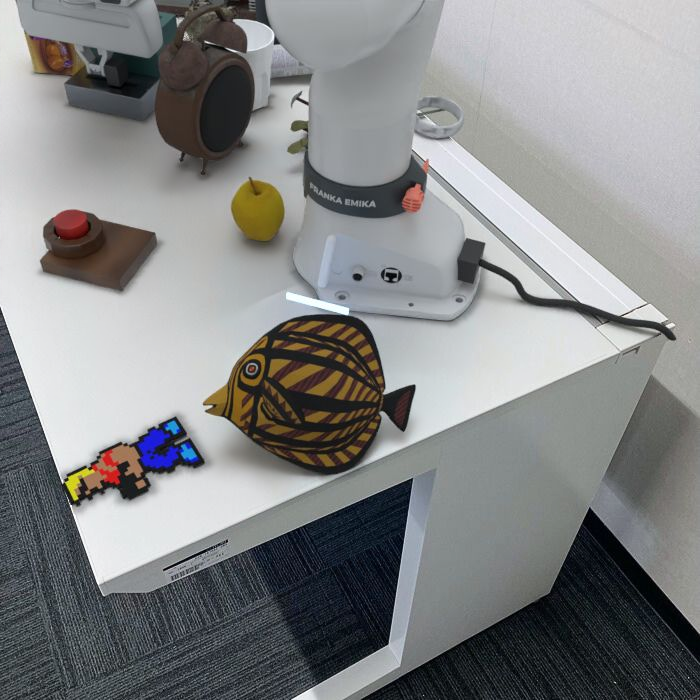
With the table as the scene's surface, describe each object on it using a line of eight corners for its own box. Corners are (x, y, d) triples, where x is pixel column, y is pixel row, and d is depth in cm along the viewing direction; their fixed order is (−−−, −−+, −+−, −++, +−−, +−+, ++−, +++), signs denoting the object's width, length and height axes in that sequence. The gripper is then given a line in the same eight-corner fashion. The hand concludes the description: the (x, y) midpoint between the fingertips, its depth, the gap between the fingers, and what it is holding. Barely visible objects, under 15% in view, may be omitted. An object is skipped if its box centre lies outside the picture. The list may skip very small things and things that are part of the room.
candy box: (98, 64, 122) (78, -37, 110) (90, 77, 119) (69, -25, 108) (42, 59, 122) (16, -42, 111) (33, 73, 119) (5, -30, 108)
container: (322, 34, 120) (226, 43, 119) (326, 49, 117) (227, 59, 116) (324, 62, 123) (230, 71, 122) (327, 78, 120) (231, 87, 119)
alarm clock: (203, 191, 101) (187, 43, 86) (159, 173, 103) (136, 25, 88) (266, 140, 109) (261, -2, 95) (224, 124, 112) (213, -17, 97)
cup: (278, 84, 120) (277, 21, 112) (272, 118, 113) (270, 53, 106) (213, 80, 120) (208, 17, 112) (204, 114, 113) (197, 49, 106)
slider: (128, 78, 112) (125, 59, 110) (120, 87, 110) (116, 67, 108) (116, 76, 112) (112, 56, 110) (107, 84, 110) (103, 64, 108)
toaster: (183, 78, 120) (175, 13, 113) (143, 121, 111) (132, 54, 104) (113, 64, 122) (101, -1, 115) (68, 105, 113) (52, 38, 106)
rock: (216, -15, 131) (167, -3, 126) (249, 2, 127) (200, 16, 122) (217, 18, 135) (170, 31, 130) (250, 35, 131) (203, 50, 126)
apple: (240, 216, 97) (236, 162, 91) (290, 223, 97) (289, 169, 91) (227, 249, 93) (222, 194, 87) (279, 256, 93) (278, 202, 87)
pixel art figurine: (176, 418, 75) (56, 474, 70) (176, 416, 75) (55, 472, 70) (204, 462, 72) (80, 524, 67) (204, 460, 72) (79, 522, 67)
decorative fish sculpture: (322, 523, 68) (246, 492, 76) (425, 404, 76) (346, 388, 84) (248, 406, 61) (173, 386, 70) (369, 288, 69) (289, 283, 77)
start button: (95, 225, 90) (92, 213, 89) (79, 243, 88) (75, 231, 86) (67, 218, 91) (64, 206, 89) (50, 236, 88) (47, 224, 87)
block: (157, 243, 93) (153, 220, 91) (121, 291, 87) (116, 268, 85) (73, 223, 95) (67, 200, 92) (33, 269, 89) (25, 245, 86)
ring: (403, 117, 111) (401, 129, 112) (457, 134, 110) (454, 145, 111) (420, 88, 116) (417, 99, 117) (471, 104, 114) (468, 115, 116)
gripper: (-5, -30, 100) (23, 70, 111) (138, -4, 97) (153, 96, 107) (22, -47, 105) (47, 51, 115) (160, -23, 101) (173, 76, 111)
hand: (99, 73), depth 111 cm, fingers closed
